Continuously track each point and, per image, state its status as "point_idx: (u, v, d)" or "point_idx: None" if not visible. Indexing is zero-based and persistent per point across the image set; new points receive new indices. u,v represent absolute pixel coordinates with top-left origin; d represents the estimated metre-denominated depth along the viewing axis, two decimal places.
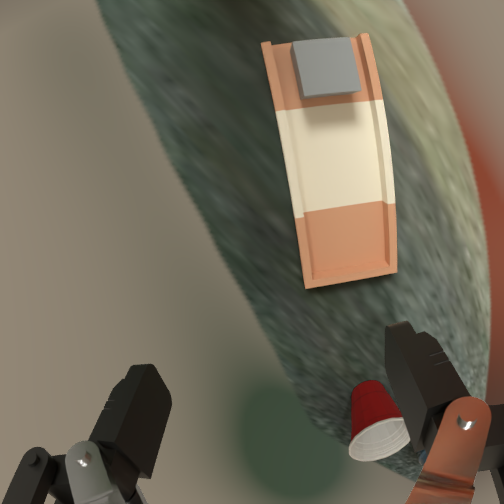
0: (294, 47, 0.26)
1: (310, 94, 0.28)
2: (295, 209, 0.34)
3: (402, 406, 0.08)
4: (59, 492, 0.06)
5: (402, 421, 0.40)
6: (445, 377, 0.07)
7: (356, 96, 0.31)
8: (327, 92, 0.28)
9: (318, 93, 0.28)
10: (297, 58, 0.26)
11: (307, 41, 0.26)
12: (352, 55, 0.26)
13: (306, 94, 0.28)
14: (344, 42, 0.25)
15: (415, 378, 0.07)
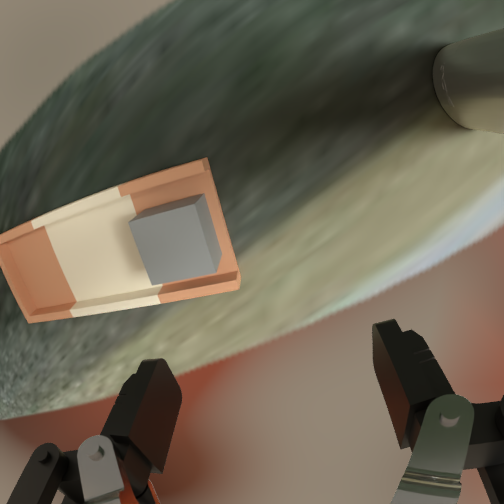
0: (187, 206, 0.24)
1: (131, 228, 0.25)
2: (37, 220, 0.27)
3: (389, 403, 0.08)
4: (70, 488, 0.06)
5: None
6: (430, 375, 0.07)
7: None
8: (138, 247, 0.25)
9: (134, 237, 0.25)
10: (172, 211, 0.24)
11: (198, 222, 0.24)
12: (191, 275, 0.26)
13: (130, 224, 0.25)
14: (206, 266, 0.26)
15: (399, 375, 0.07)
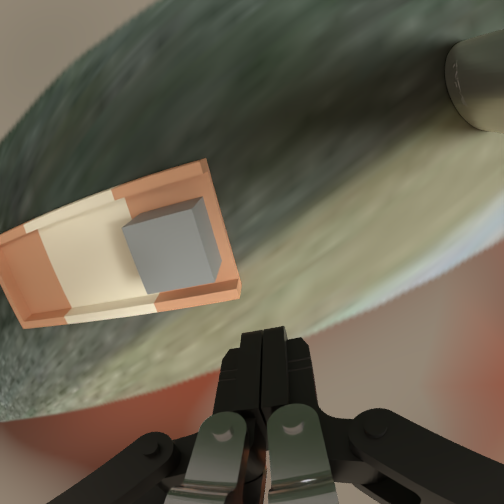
0: (183, 211, 0.22)
1: (125, 234, 0.23)
2: (29, 223, 0.25)
3: None
4: (182, 483, 0.06)
5: None
6: (300, 382, 0.08)
7: None
8: (133, 255, 0.24)
9: (128, 244, 0.23)
10: (167, 216, 0.22)
11: (195, 228, 0.23)
12: (188, 284, 0.24)
13: (123, 230, 0.23)
14: (204, 275, 0.24)
15: (263, 379, 0.08)
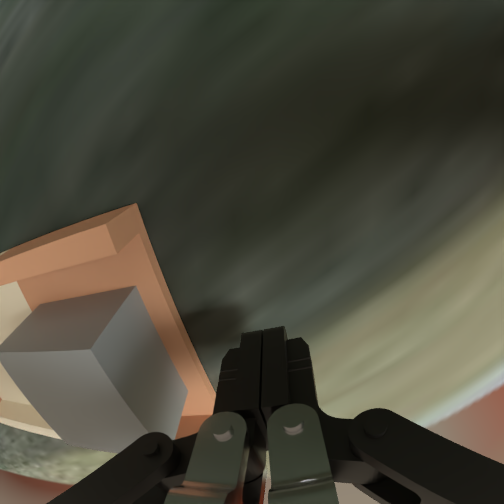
0: (77, 351, 0.08)
1: (3, 363, 0.09)
2: None
3: None
4: (182, 483, 0.06)
5: None
6: (300, 382, 0.08)
7: None
8: (25, 394, 0.10)
9: (13, 378, 0.10)
10: (51, 354, 0.08)
11: (109, 385, 0.09)
12: None
13: None
14: None
15: (263, 379, 0.08)
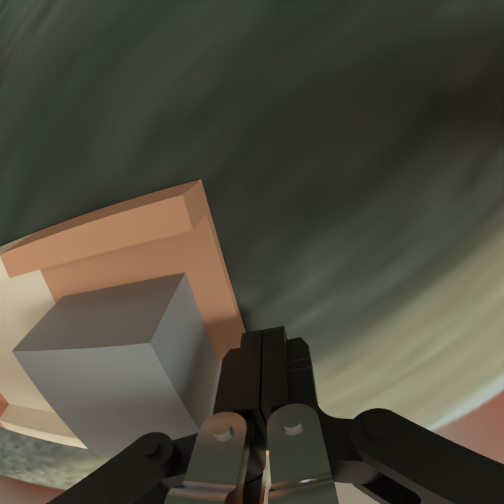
0: (129, 346, 0.07)
1: (23, 364, 0.08)
2: None
3: None
4: (182, 483, 0.06)
5: None
6: (300, 382, 0.08)
7: None
8: (48, 399, 0.09)
9: (34, 381, 0.09)
10: (93, 351, 0.08)
11: (166, 385, 0.08)
12: None
13: (17, 356, 0.08)
14: None
15: (263, 379, 0.08)
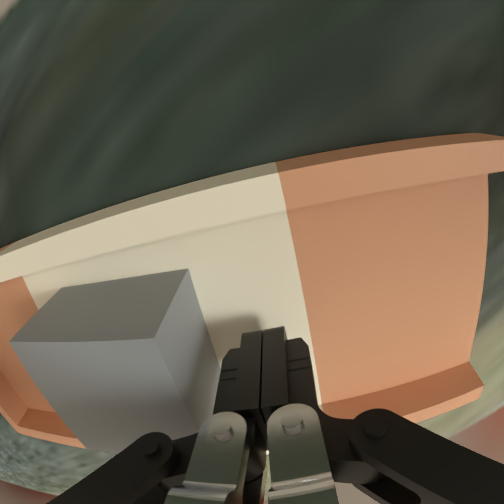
0: (132, 341, 0.07)
1: (19, 355, 0.08)
2: None
3: None
4: (182, 483, 0.06)
5: None
6: (300, 382, 0.08)
7: (333, 381, 0.13)
8: (43, 391, 0.09)
9: (30, 373, 0.08)
10: (94, 344, 0.07)
11: (168, 381, 0.08)
12: None
13: (14, 347, 0.08)
14: None
15: (263, 379, 0.08)
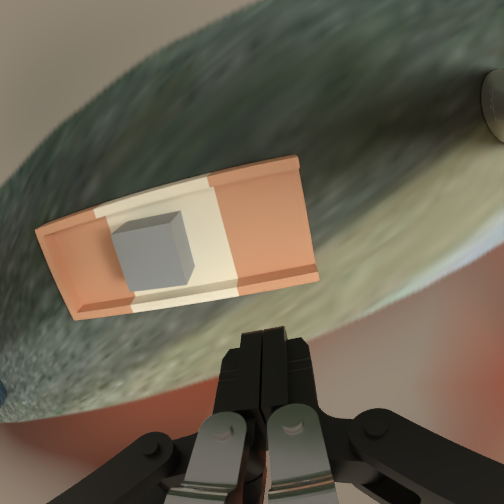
0: (162, 225, 0.26)
1: (113, 240, 0.27)
2: (101, 208, 0.28)
3: None
4: (182, 483, 0.06)
5: None
6: (300, 382, 0.08)
7: (240, 264, 0.32)
8: (119, 258, 0.28)
9: (116, 249, 0.27)
10: (149, 228, 0.26)
11: (172, 239, 0.27)
12: (165, 286, 0.28)
13: (112, 236, 0.27)
14: (178, 279, 0.28)
15: (263, 379, 0.08)
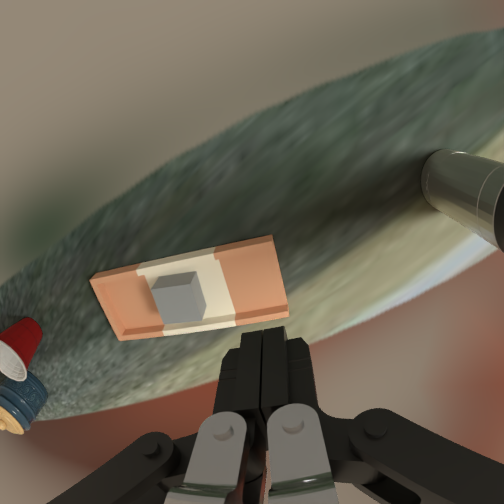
0: (185, 285, 0.42)
1: (152, 293, 0.42)
2: (142, 269, 0.43)
3: None
4: (182, 483, 0.06)
5: (22, 367, 0.47)
6: (300, 382, 0.08)
7: (237, 304, 0.47)
8: (156, 303, 0.43)
9: (154, 298, 0.43)
10: (177, 286, 0.42)
11: (192, 293, 0.42)
12: (187, 321, 0.44)
13: (151, 290, 0.42)
14: (196, 317, 0.43)
15: (263, 379, 0.08)
